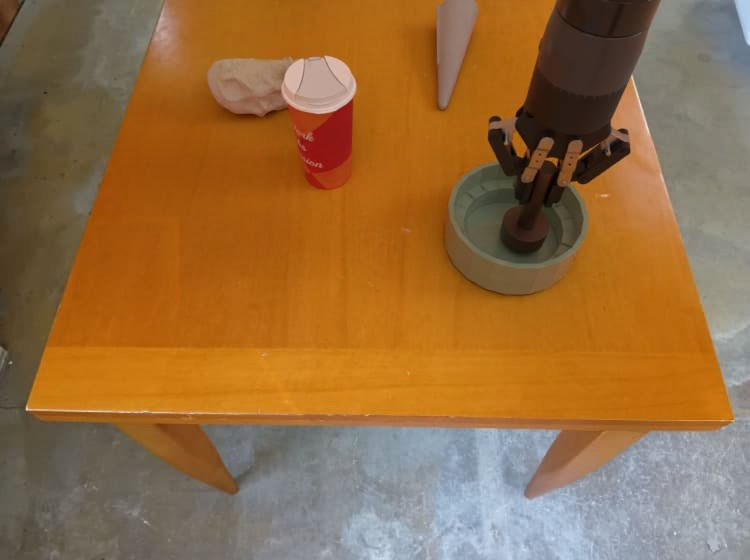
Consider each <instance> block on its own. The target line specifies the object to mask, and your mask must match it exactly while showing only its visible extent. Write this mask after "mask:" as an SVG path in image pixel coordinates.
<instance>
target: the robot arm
mask: <svg viewBox="0 0 750 560" xmlns="http://www.w3.org/2000/svg"><path fill="white" fill-rule="evenodd" d="M661 2H662V0H556V1H555V3H554V5H553V9H552V11H551V13H550V14H549V15H550V16H549V17H548V20H547V22H546V26H545V28H544V31H543V35H542V37H541V38H540V40H539V43H538V53H537V56H536V60H535V64H534V68H533V72H532V75H531V78H530V82H529V86H528V89H527V93H526V97H525V100H524V102H523V104H522V105H521V106H520V107H519V108H518V109H517V110H516V112H515V115H514V116H513V117H509V118H506V119H502V117H500V116H498V115H492V116H490V117H489V119H488V127H487V142H488V143H489V145H490V147H491V149H492V152H493V153H494V156H495V157H496V161H498V162H499V164H500V166H501V168H502V170H503V172H504V174H505V175H506V176H509V177H511V176H514V175H516V176H517V180H516V183H515V199H517V200H519V205H526V204H527V201H528V198H529V196H530V193H531V190H532V187H533V184H534V177H535V175H536V173H537V171H538V169H539V170H540V169H541V167H542V164H543V162H544V160H546V159H550V158H552V159H553V158H554V159H557V162H556V168H557V170H556V173H555V175H554V178H553V181H552V183H551V186H550V188H549V191H548V194H547V196H546V199H545V201H544V207H546V208H551V207H552V205H553V204H557V203H558V202H559V201H560V200H561V197H562V195H563V192H564V190H565V188H566V186H568V185H569V184H570V183H574V182H577V184H579V185H587V184H589V183H590V182H592V181H593V180H595V179H596V178H598V177H599V176H600V175H602V174H603V173H605V172H606V171H607V170H609V169H610V168H612V167H613V166H614V165H616V164H618V163H619V162H620V161H622V160H623V159H625V158H626V157H627V156H629V155H630V154H631V139H630V135H629V130H628V129H627V128H624V127H623V128H622V127H621V128H618V129H616V128H615V127H612V124H611V123H612V119H613V117H614V115H615V113H616V110H617V108H618V106H619V104H620V102H621V100H622V98H623V95H624V93H625V90H626V88H627V86H628V84H629V82H630V79H631V77H632V75H633V73H634V71H635V69H636V66H637V64H638V62H639V60H640V58H641V55H642V54H643V50H644V47H645V44H646V41H647V37H648V34H649V31H650V28H651V24H652V22H653V20H654V18H655V15H656V13H657V11H658V8H659V7H660V4H661ZM516 132H517V134H518V135H519V137H520V139H522V141H523V143H524V144H525V146H526V149H525V151H524V153H523V156H519V155H518V152H517V150H516V148H515V145H514V144H513V142H512V141H513V139H514V133H516ZM583 154H584V155H583ZM581 155H582V156H581ZM580 156H581V157H580Z"/></svg>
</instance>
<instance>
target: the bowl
mask: <svg viewBox="0 0 750 560" xmlns="http://www.w3.org/2000/svg"><path fill="white" fill-rule="evenodd" d="M516 180H517V176H516V175H514V176H511V177H509V176H506V175H505V174H504V172H503V170H502V168H501V166H500V164H499V162H498V160H494V161H490V162H487V163H482V164H480V165H478V166H475V167H474V168H473V169H470V170H469V171H467V172H466V173H464V174H463V175H462V176H461V178H460V179H459V180H458V181H457V182H456V184H455V185H454V186H453V188H452V191H451V193H450V196H449V200H448V202H447V208H446V210H447V211H446V214H445V215H446V217H445V222H444V227H443V228H444V230H443V238H444V248H445V250H446V253H447V254H448V256H449V258H450V261H451V263H452V264H453V266H454V267H455V268H456V269H457V270H458V271H459V272H460V273H461V274H462V275H463V276H464V277H465V278H466V279H467V280H469V281H471V282H473V283H474V284H476V285H478V286H479V287H481V288H483V289H486V290H487V291H491V292H495V293H500V294H503V295H531V294H534V293H537V292H541V291H544V290H547V289H549V288H551V287H552V286H553V285H555V284H556V283H558V282H559V281H560V280H562V279H563V278H564V277H565V276H566V274H567V272H568V271H569V269H570V267H571V266H572V264H573V263H574V261H575V259H576V257H577V255H578V253H579V251H580V249H581V247H582V245H583V243H584V241H585V239H586V238H587V236H588V228H589V221H590V218H589V213H588V209H587V206H586V202H585V200H584V199H583V197H582V196H581V194H580V193H579V190H578V189H577V188H576V187H575V185H573V184H572V182H570V184H569V185H568V186H566V188H565V190H564V192H563V195H562V197H561V200H560V201H559V202H558V203H557V204H553V205H552V207H551V208H546V207H544V204H543V207H542V209H541V211H542V212H543V213H544V214H545V215H546V216H547V218H548V220H549V223H550V229H549V232H548V234H547V237H546V239H545V241H544V244H543V245H542V247H541V248H540V249H539V250H537V251H536V252H533V253H529V254H521V253H516V252H514V251H512V250H510V249H508V248H507V247H506V246H505V245H504V244H503V243H502V241H501V239H500V234H499V232H500V228H501V224H502V221H503V218H504V215H505V213H506V212H507V211H508V210H509V209H511V208H512V207H515V206H519V200H517V199H515V183H516Z"/></svg>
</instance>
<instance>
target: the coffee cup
mask: <svg viewBox="0 0 750 560" xmlns="http://www.w3.org/2000/svg"><path fill="white" fill-rule="evenodd" d="M323 56H324V57H320V56H311V57H308V59H307V60H305V62H304V59H305V57H304V58H303V57H302V58H299V59H300V60H298V61H296V62H295V63H293V64H292V65H291V66H290V67H289V68H288V70H287V71H286V73H285V77H284V81H283V83H282V87H281V91H282V95H283V97H284V99H285V101H286V102H287V104H288V111H289V115H290V120H291V125H292V128H293V132H294V137H295V140H296V144H297V148H298V151H299V152H298V153H299V157H300V161H301V164H302V169H303V172H304V175H305V178H306V180H307V181H308V183H309V184H310V185H311V186H313V187H314V188H317V189H320V190H325V191H327V190H335V189H339V188H340V187H342V186H343V185H345V184H346V183H347V182H348V181H349V179H350V178H351V174H352V163H353V161H352V160H353V125H354V96H355V95H356V92H357V81H356V78H355V77H354V75H353V74H352V71H351V69H350V67H349V66H348V65H347V64H346V63H345V62H344V61H342V60H340V59H339V58H336V57H334V56H330V55H323Z"/></svg>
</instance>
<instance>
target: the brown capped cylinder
mask: <svg viewBox="0 0 750 560" xmlns="http://www.w3.org/2000/svg"><path fill="white" fill-rule="evenodd" d="M556 167H557V164H555V162H553V161H551V160H547V159H545V160H544V162H543V164H542V167H541V169H540V170H539V169H538V171H537V173H536V175H535V177H534V184H533V187H532V190H531V193H530V196H529V198H528V201H527V204H526V205H519V206H515V207H512V208H511V209H509V210H508V211H507V212H506V213H505V215H504V218H503V221H502V224H501V228H500V232H499V234H500V239H501V241H502V243H503V244H504V245H505V246H506V247H507V248H508V249H510V250H512V251H514V252H516V253H521V254H529V253H533V252H536V251H537V250H539V249H540V248H541V247H542V245H543V244H544V241H545V239H546V237H547V234H548V232H549V229H550V223H549V220H548V218H547V216H546V215H545V214H544V213H543V212H542V211H541V209H542V207H543V204H544V201H545V199H546V196H547V194H548V191H549V188H550V186H551V183H552V181H553V178H554V175H555V173H556V170H557V168H556Z"/></svg>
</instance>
